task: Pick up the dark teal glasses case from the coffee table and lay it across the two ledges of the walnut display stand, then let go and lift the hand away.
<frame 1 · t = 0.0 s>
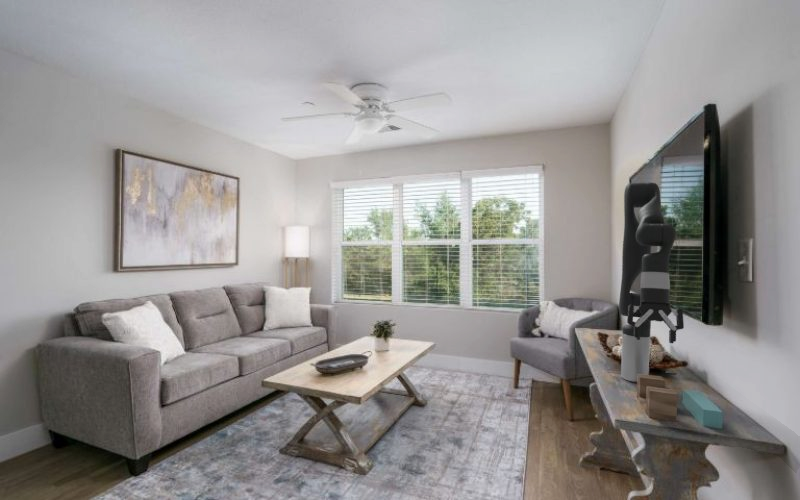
hand: (654, 341, 119), 22 cm above the table, tool pointing down, fingers open, 8 cm apart
smartphone: (659, 369, 167), on the table
display stand: (655, 408, 124), on the table
glasses case: (700, 416, 120), on the table
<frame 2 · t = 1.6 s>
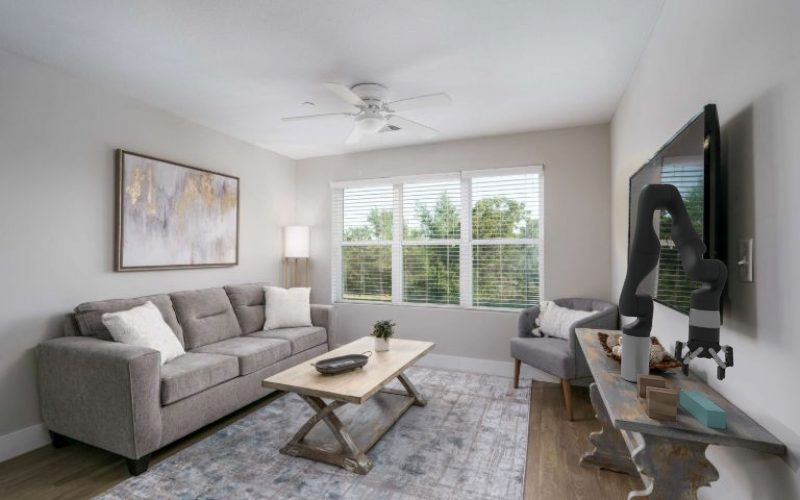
hand: (702, 377, 120), 12 cm above the table, tool pointing down, fingers open, 8 cm apart
nothing on the table moved.
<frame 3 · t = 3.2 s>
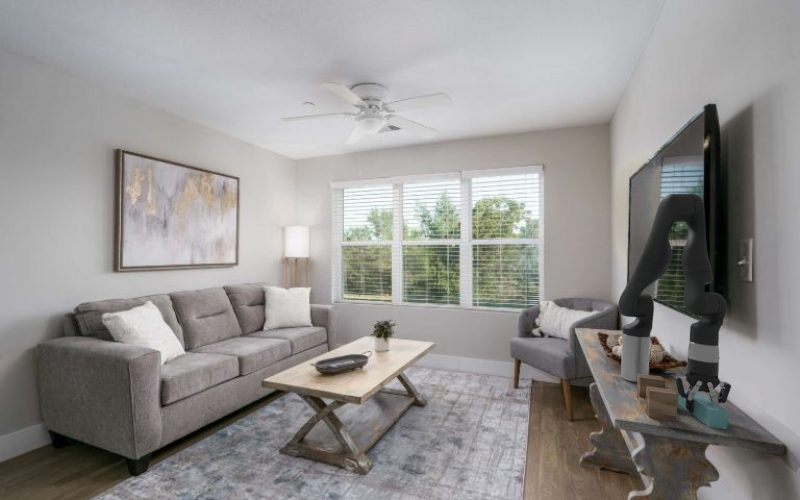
hand: (700, 413, 120), 1 cm above the table, tool pointing down, fingers closed on glasses case, 5 cm apart
glasses case: (700, 415, 120), on the table, touching gripper
everything else where it was.
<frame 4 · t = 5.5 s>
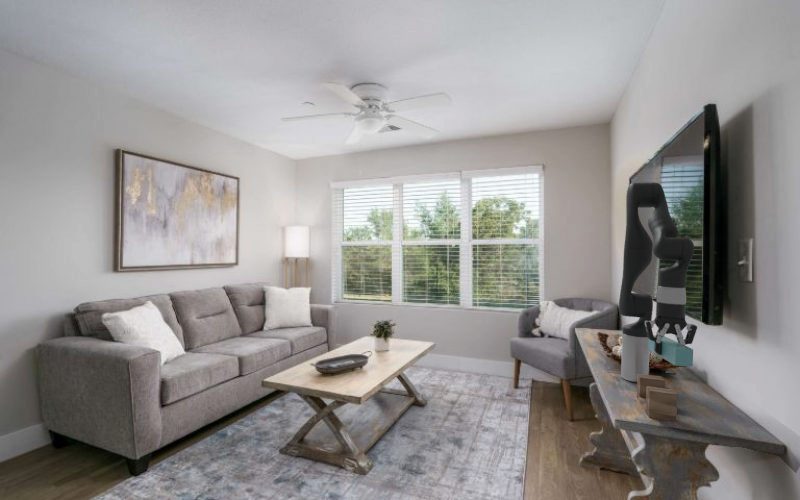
hand: (668, 355, 123), 17 cm above the table, tool pointing down, fingers closed on glasses case, 5 cm apart
glasses case: (668, 357, 123), point 16 cm above the table, touching gripper
everything else where it was.
when the fingers open (10 cm above the table, at t = 7.9 s): glasses case drops 1 cm, resting on display stand.
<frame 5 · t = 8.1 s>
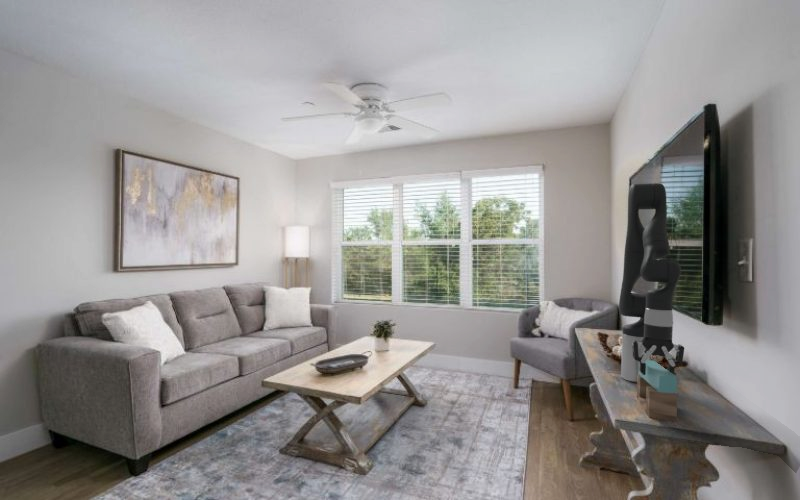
hand: (656, 375, 124), 10 cm above the table, tool pointing down, fingers open, 6 cm apart
glasses case: (656, 383, 124), point 8 cm above the table, touching display stand
everything else where it was.
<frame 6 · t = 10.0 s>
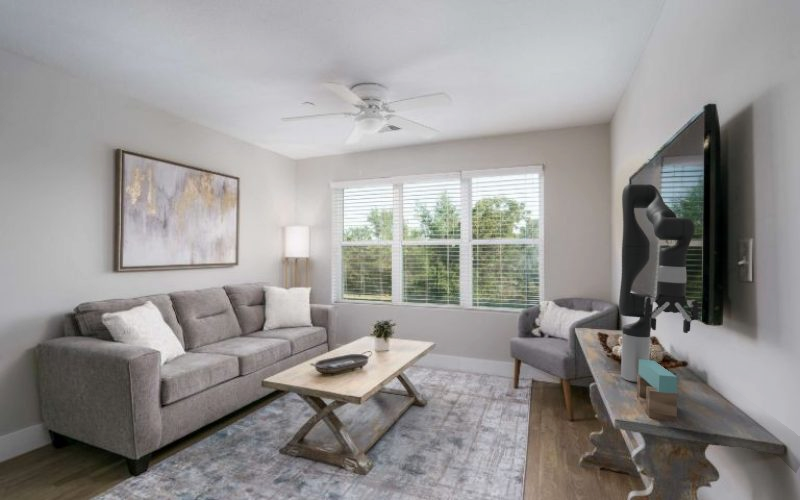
hand: (669, 331, 125), 24 cm above the table, tool pointing down, fingers open, 8 cm apart
nothing on the table moved.
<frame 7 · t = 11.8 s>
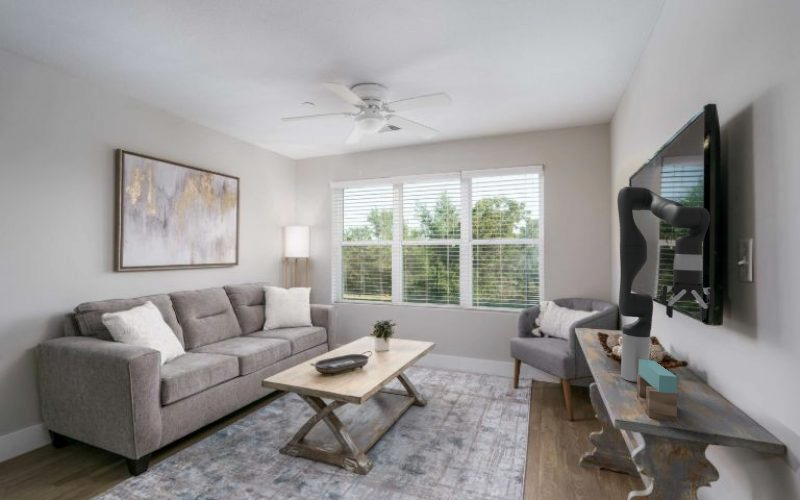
hand: (685, 318, 127), 28 cm above the table, tool pointing down, fingers open, 8 cm apart
nothing on the table moved.
at the end: glasses case 0.0 cm off-centre on the display stand, point 8.0 cm above the display stand's base; glasses case tilted 0°; the gripper is holding nothing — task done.
